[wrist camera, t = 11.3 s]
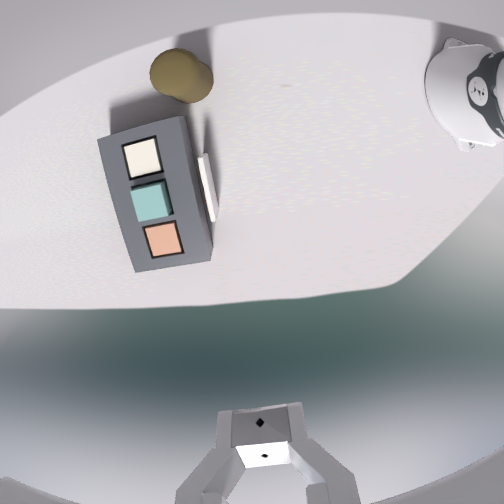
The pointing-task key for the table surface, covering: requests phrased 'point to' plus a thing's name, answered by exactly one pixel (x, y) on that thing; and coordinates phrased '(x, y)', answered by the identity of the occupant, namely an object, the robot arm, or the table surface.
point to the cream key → (143, 157)
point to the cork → (181, 76)
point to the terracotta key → (164, 238)
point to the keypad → (179, 185)
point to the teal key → (152, 200)
